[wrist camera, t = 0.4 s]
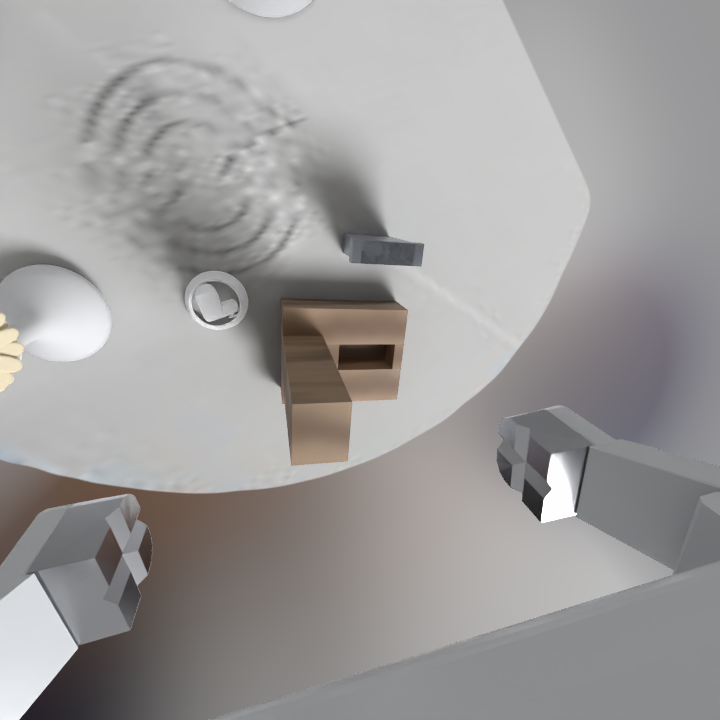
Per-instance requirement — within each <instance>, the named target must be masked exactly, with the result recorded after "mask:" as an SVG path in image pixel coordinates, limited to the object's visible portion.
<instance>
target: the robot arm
mask: <svg viewBox="0 0 720 720" xmlns="http://www.w3.org/2000/svg"><path fill="white" fill-rule="evenodd" d="M229 1H230V2H231V3H233V4H234V5H236V6H237V7H239V8H241V9H243V10H245V11H247V12H249V13H252V14H255V15H258V16H263V17H283V16H288V15H291V14H293V13H296V12H298V11H300V10H301V9H303V8H304V7H306V6H307V5H308V4H309V3H310V2H311V1H312V0H229ZM499 435H500V436H501V437H502V438H503V442H502V443H501V444H500V446H499V447H498V449H497V463H498V467H499V471H500V473H501V475H502V477H503V478H504V480H505V482H506V483H507V484H508V485H509V486H510V488H512V489H515V490H517V491H519V492H522V502H523V503H524V504H525V505H526V506H527V507H528V508H529V510H530V511H531V512H532V513H533V514H534V515H535V516H536V518H537V519H538V520H539V521H540V522H541V523H542V522H546V521H550V520H555V519H559V518H564V517H568V516H572V515H576V517H577V518H579V519H581V520H583V521H585V522H587V523H588V524H590V525H592V526H594V527H596V528H598V529H599V530H601V531H603V532H605V533H607V534H609V535H610V536H612V537H614V538H616V539H618V540H619V541H621V542H623V543H625V544H627V545H629V546H631V547H632V548H634V549H636V550H638V551H640V552H641V553H643V554H645V555H647V556H649V557H651V558H653V559H654V560H656V561H658V562H660V563H662V564H664V565H665V566H667V567H669V568H671V569H673V570H674V571H673V574H672V575H671V576H668V577H665V578H662V579H658V580H655V581H652V582H649V583H646V584H642V585H639V586H636V587H633V588H630V589H626V590H623V591H620V592H617V593H613V594H611V595H607V596H604V597H601V598H598V599H594V600H591V601H588V602H585V603H581V604H579V605H575V606H572V607H569V608H565V609H562V610H559V611H556V612H553V613H549V614H546V615H543V616H540V617H537V618H534V619H530V620H527V621H524V622H521V623H518V624H515V625H511V626H508V627H505V628H502V629H499V630H496V631H492V632H489V633H486V634H483V635H479V636H476V637H473V638H470V639H466V640H463V641H460V642H457V643H454V644H450V645H447V646H444V647H441V648H438V649H435V650H431V651H428V652H425V653H421V654H418V655H415V656H412V657H409V658H406V659H402V660H399V661H396V662H392V663H389V664H386V665H383V666H380V667H377V668H373V669H370V670H367V671H363V672H360V673H357V674H354V675H351V676H347V677H344V678H341V679H338V680H335V681H331V682H328V683H325V684H321V685H318V686H315V687H312V688H309V689H306V690H302V691H299V692H296V693H293V694H289V695H286V696H283V697H279V698H276V699H273V700H270V701H267V702H263V703H260V704H257V705H254V706H251V707H247V708H244V709H241V710H238V711H235V712H232V713H228V714H225V715H222V716H218V717H215V718H212V719H209V720H720V466H717V465H713V464H709V463H706V462H702V461H699V460H695V459H691V458H688V457H684V456H681V455H677V454H673V453H669V452H666V451H663V450H659V449H655V448H652V447H648V446H644V445H641V444H637V443H634V442H630V441H627V440H622V439H621V440H615V439H613V438H612V437H610V436H609V435H607V434H606V433H604V432H603V431H601V430H600V429H598V428H597V427H595V426H594V425H592V424H591V423H589V422H588V421H586V420H585V419H583V418H582V417H580V416H579V415H577V414H576V413H574V412H573V411H571V410H570V409H568V408H567V407H565V406H560V405H558V406H554V407H550V408H545V409H541V410H540V411H535V412H530V413H525V414H521V415H516V416H511V417H506V418H502V420H501V422H500V424H499ZM139 511H140V506H139V504H138V502H137V500H136V498H135V496H133V495H131V494H125V495H119V496H113V497H108V498H102V499H97V500H91V501H86V502H80V503H75V504H70V505H65V506H60V507H55V508H50V509H46V510H44V511H43V512H41V513H39V514H38V515H37V517H36V518H35V519H34V521H33V522H32V523H31V525H30V526H29V528H28V529H27V530H26V532H25V533H24V534H23V536H22V537H21V539H20V540H19V541H18V543H17V544H16V545H15V547H14V548H13V550H12V551H11V552H10V554H9V555H8V556H7V558H6V559H5V561H4V562H3V563H2V565H1V566H0V720H19V719H20V718H21V716H22V715H23V714H24V713H25V712H26V710H27V709H28V708H29V707H30V706H31V705H32V703H33V702H34V701H35V700H36V699H37V697H38V696H39V695H40V694H41V693H42V691H43V690H44V689H45V688H46V686H47V685H48V684H49V683H50V682H51V680H52V679H53V678H54V677H55V676H56V674H57V673H58V672H59V671H60V670H61V668H62V667H63V666H64V665H65V663H66V662H67V661H68V660H69V659H70V657H71V656H72V655H73V654H74V652H75V651H76V650H77V649H78V647H77V646H78V645H81V644H85V643H87V642H91V641H95V640H98V639H101V638H105V637H108V636H112V635H115V634H119V633H122V632H126V631H129V630H130V629H131V626H132V623H133V620H134V617H135V613H136V610H137V607H138V604H139V601H140V598H141V594H140V592H139V589H138V587H137V585H138V584H139V583H140V582H141V581H142V580H143V579H144V578H145V577H146V576H147V575H148V572H149V568H150V565H151V561H152V540H151V535H150V532H149V529H148V526H147V525H146V524H144V523H142V522H140V521H138V520H137V516H138V514H139Z"/></svg>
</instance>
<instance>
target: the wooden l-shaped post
mask: <svg viewBox="0 0 720 720" xmlns="http://www.w3.org/2000/svg"><path fill="white" fill-rule="evenodd" d="M407 313H408V310H407V309H405V308H404V307H403V306H401V305H400V304H399V303H397V302H396V301H358V300H318V299H281V395H282V404H285V409H286V419H287V428H288V438H289V447H290V457H291V466H292V465H305V464H318V463H331V462H344V461H348V451H349V438H350V425H351V412H352V401H369V400H394V399H397V394H398V386H399V378H400V370H401V362H402V354H403V346H404V338H405V329H406V321H407Z"/></svg>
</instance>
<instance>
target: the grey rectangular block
mask: <svg viewBox="0 0 720 720" xmlns="http://www.w3.org/2000/svg"><path fill="white" fill-rule="evenodd" d="M423 249H424V244H422V243H412V242H408V241H404V240H400V239H397V238H393V237H389V236H374V235H359V234H344V249H343V253H345V254H346V255H348V256H350V258H349V262H351V263H364V264H384V265H405V266H421V264H422V257H423Z"/></svg>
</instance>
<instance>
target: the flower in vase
mask: <svg viewBox="0 0 720 720" xmlns="http://www.w3.org/2000/svg"><path fill="white" fill-rule="evenodd" d="M111 325H112V320H111V313H110V309H109V307H108V304H107V302H106V300H105V298H104V297H103V296H102V294H101V293H100V292H99V290H98V289H97V288H96V287H95V286H94V285H93V284H92V283H91V282H89V281H88V280H87V279H85V278H84V277H82V276H81V275H79V274H77V273H75V272H73V271H71V270H68V269H65V268H62V267H58V266H54V265H30V266H26V267H22V268H20V269H17V270H15V271H13V272H12V273H10V274H9V275H8V276H6V277H5V278H4V279H3V281H2V282H1V283H0V392H1V391H3V390H5V389H6V387H7V385H10V384H11V383H12V382H13V381H14V376H13V374H12V373H14V372H17V371H19V370H20V369H21V368H22V366H23V363H22V361H21V359H22V354H21V353H22V352H23V351H24V352H26V353H28V354H30V355H32V356H35V357H37V358H40V359H44V360H49V361H59V362H62V361H75V360H80V359H83V358H86V357H88V356H91V355H92V354H94V353H96V352H97V351H98V350H99V349H100V348H101V347H102V346H103V345H104V344H105V342H106V341H107V339H108V337H109V335H110V331H111Z"/></svg>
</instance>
